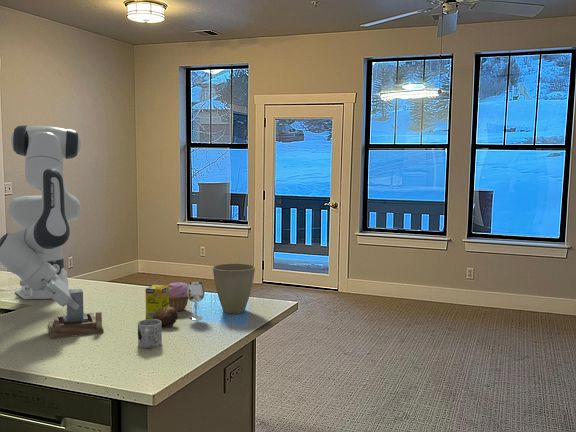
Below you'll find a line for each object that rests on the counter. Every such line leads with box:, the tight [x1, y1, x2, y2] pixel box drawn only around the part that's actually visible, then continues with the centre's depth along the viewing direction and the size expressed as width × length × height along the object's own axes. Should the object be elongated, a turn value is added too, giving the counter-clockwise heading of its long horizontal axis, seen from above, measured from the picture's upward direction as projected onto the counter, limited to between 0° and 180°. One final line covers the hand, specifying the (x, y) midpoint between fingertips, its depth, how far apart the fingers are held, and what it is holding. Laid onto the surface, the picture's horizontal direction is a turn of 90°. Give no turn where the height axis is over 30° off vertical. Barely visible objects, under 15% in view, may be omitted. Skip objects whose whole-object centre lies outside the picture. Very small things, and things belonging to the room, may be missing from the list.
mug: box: [137, 319, 163, 350], centre depth 162 cm, size 10×7×7 cm, turn 4°
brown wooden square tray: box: [48, 311, 104, 339], centre depth 177 cm, size 15×15×6 cm
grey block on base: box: [61, 288, 88, 325], centre depth 177 cm, size 7×7×10 cm
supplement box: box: [145, 284, 169, 320], centre depth 189 cm, size 6×6×11 cm
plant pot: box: [212, 262, 256, 315], centre depth 200 cm, size 15×15×16 cm
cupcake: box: [167, 281, 189, 312], centre depth 201 cm, size 9×9×10 cm
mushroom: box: [153, 307, 179, 328], centre depth 182 cm, size 8×8×6 cm
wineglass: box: [187, 281, 205, 321], centre depth 190 cm, size 6×6×12 cm
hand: (76, 305), depth 177 cm, fingers closed on grey block on base, 5 cm apart
